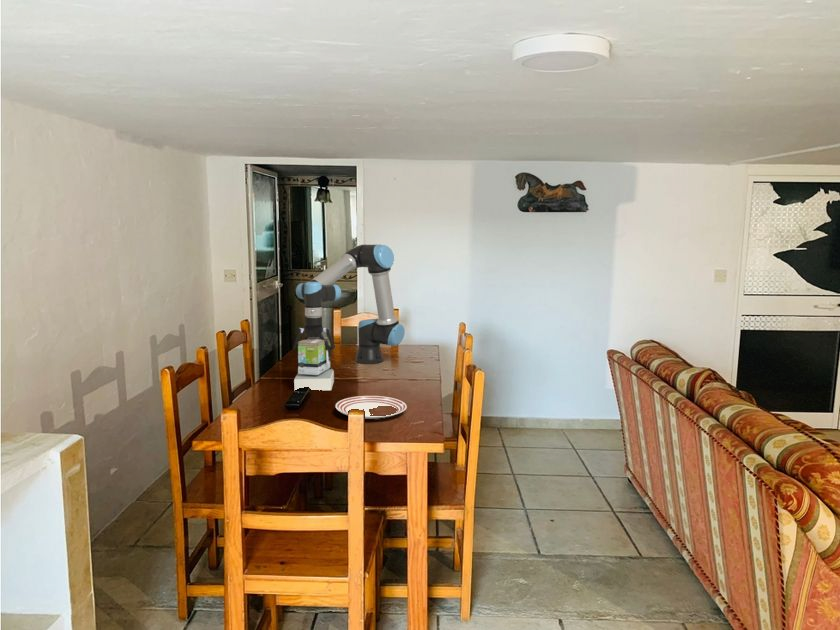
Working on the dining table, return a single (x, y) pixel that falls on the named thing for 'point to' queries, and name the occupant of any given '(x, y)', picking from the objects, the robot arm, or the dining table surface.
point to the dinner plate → (369, 405)
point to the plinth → (315, 381)
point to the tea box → (312, 356)
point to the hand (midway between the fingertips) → (314, 364)
